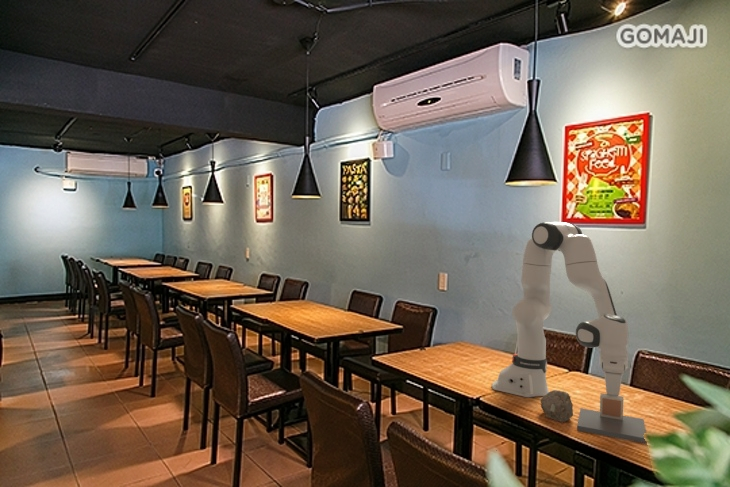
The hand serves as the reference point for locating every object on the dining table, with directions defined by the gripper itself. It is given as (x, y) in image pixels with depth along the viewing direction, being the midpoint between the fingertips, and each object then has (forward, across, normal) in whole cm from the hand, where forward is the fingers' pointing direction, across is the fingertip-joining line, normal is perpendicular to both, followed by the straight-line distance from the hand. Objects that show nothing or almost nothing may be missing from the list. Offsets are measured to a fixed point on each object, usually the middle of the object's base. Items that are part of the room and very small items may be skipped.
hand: (612, 401), depth 168 cm
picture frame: (+5, +1, 0) cm, 5 cm away
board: (+7, +6, 0) cm, 9 cm away
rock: (+7, +7, -17) cm, 20 cm away
